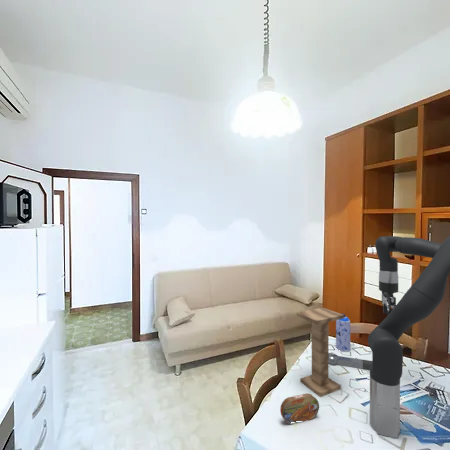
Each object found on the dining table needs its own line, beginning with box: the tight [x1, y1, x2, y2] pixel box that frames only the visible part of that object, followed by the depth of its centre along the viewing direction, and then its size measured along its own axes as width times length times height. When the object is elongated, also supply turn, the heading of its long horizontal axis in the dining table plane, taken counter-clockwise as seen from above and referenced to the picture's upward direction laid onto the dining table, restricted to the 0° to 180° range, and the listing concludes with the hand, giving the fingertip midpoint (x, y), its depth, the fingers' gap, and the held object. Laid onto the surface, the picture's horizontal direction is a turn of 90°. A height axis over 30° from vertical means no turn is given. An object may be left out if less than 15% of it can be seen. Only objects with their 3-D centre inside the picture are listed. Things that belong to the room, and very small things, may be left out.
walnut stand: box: [296, 307, 344, 398], centre depth 120 cm, size 16×12×32 cm
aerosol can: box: [335, 313, 352, 353], centre depth 155 cm, size 8×8×20 cm
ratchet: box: [329, 351, 372, 371], centre depth 137 cm, size 24×6×5 cm, turn 71°
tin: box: [279, 392, 320, 425], centre depth 99 cm, size 15×3×8 cm, turn 106°
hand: (388, 316), depth 121 cm, fingers open, 8 cm apart
